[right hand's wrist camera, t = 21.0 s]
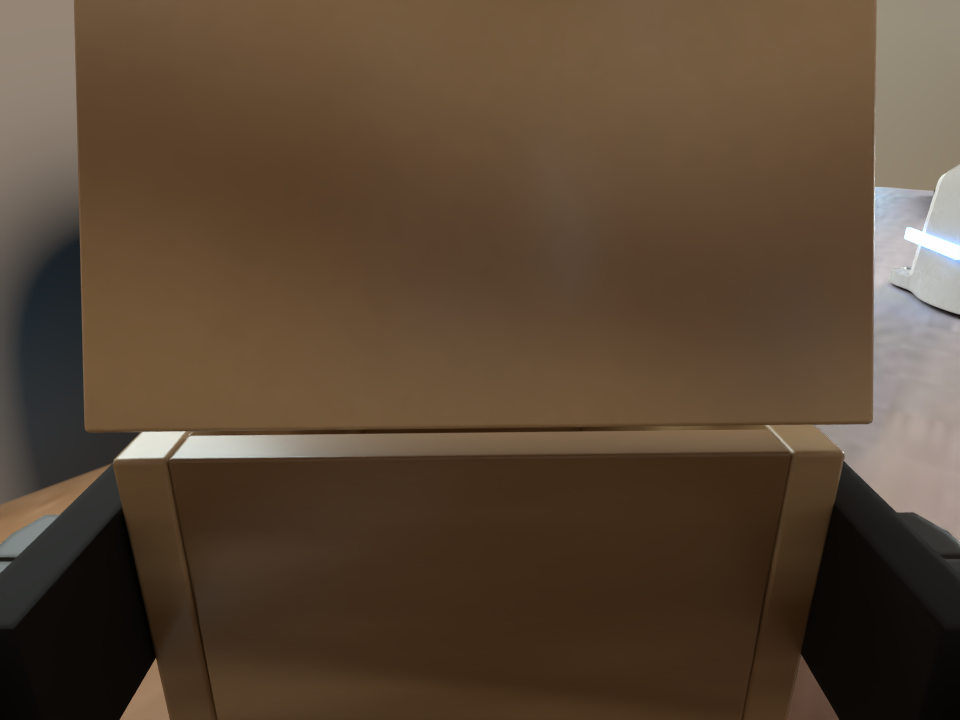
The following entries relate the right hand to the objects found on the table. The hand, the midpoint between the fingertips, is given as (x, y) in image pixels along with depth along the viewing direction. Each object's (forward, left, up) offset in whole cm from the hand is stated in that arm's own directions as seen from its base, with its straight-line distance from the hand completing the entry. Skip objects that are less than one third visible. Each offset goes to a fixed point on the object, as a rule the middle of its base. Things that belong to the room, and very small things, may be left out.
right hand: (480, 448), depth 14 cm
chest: (+3, +3, -6) cm, 7 cm away
